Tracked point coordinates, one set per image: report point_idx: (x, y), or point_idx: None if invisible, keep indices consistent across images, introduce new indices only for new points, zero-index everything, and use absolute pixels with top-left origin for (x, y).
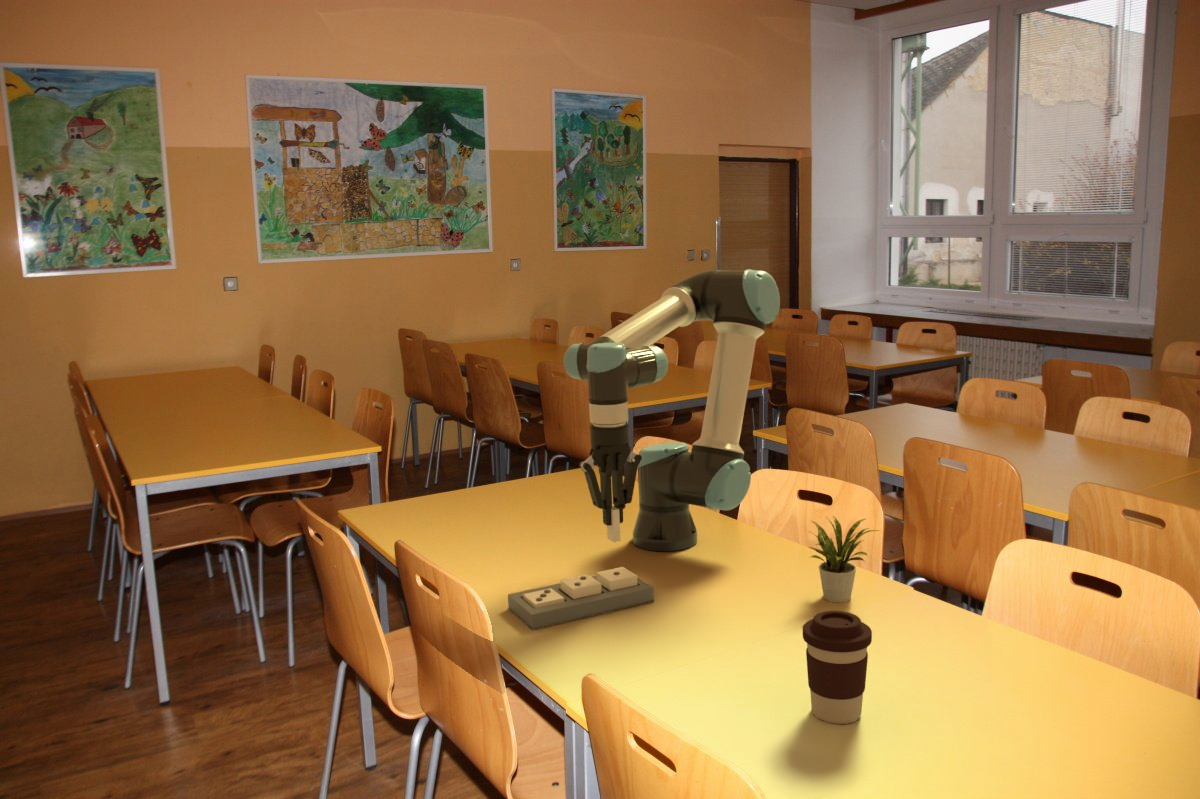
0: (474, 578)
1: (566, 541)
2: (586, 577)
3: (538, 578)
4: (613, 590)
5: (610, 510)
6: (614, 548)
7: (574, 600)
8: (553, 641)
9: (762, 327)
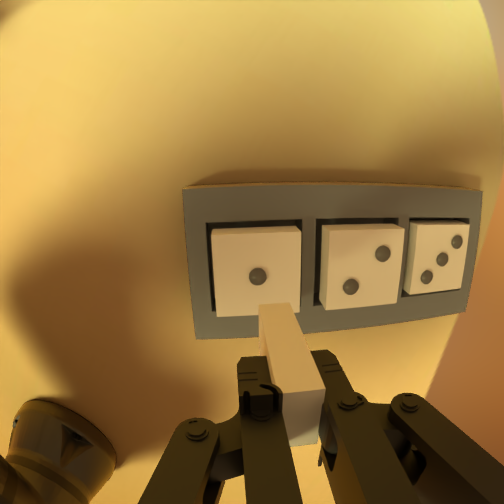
0: None
1: None
2: (340, 289)
3: None
4: None
5: (325, 400)
6: (152, 460)
7: (396, 213)
8: (454, 120)
9: None
